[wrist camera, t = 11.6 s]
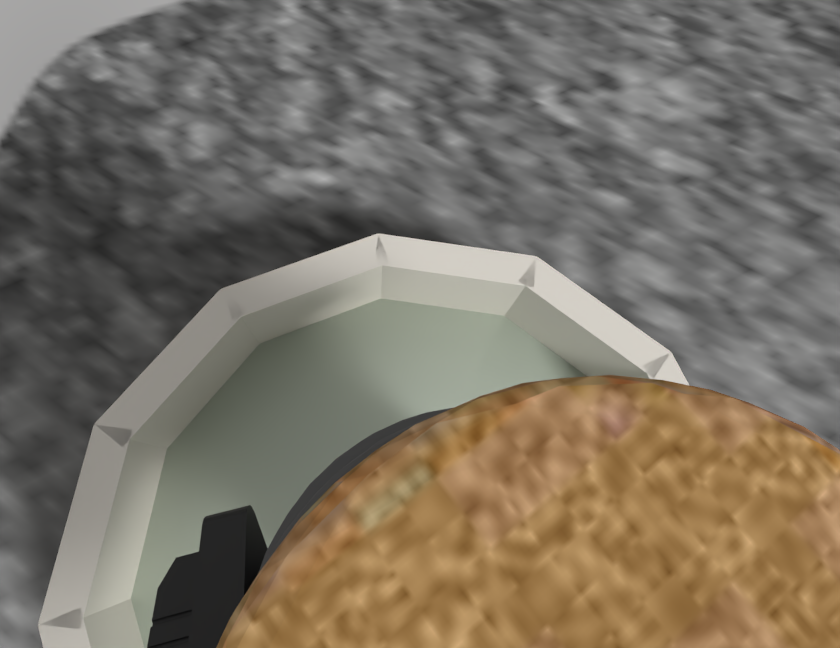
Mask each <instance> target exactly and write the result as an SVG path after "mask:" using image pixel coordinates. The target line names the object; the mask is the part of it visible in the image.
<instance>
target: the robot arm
mask: <svg viewBox="0 0 840 648" xmlns="http://www.w3.org/2000/svg"><path fill="white" fill-rule="evenodd" d="M267 549H268V548H267V545H266V543H265V540H264V537H263V534H262V531H261V529H260V526H259V523H258V520H257V517H256V515H255V512H254V510H253V508H252V506H250V505H248V506H244V507H240V508H236V509H232V510H228V511H224V512H220V513H216V514H212V515H208V516H205V517H204V519H203V523H202V530H201V538H200V547H199V552H195V553H192V554H188V555H184V556H180V557H176V558H175V560H174V562H173V563H172V565H171V567H170V568H169V570H168V572H167V573H166V575H165V577H164V578H163V580H162V582H161V584H160V585H159V587H158V589H157V595H156V600H155V606H154V611H153V617H152V623H153V626H152V627H151V628H150V633H149V639H148V644H147V648H216V647H217V645H218V643H219V641H220V638H221V636H222V634H223V632H224V630H225V628H226V626H227V624H228V621H229V619H230V617H231V616H232V614H233V612H234V611H235V609H236V608H237V606H238V605H239V603H240V601H241V600H242V598H243V597H244V595H245V594H246V592H247V591H248V589H249V587H250V586H251V584H252V583H253V581H254V580H255V578H256V576H257V575H258V573H259V570H260V567H261V564H262V561H263V559H264V556H265V553H266V551H267Z"/></svg>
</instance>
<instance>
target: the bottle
mask: <svg viewBox="0 0 840 648" xmlns="http://www.w3.org/2000/svg"><path fill="white" fill-rule="evenodd" d="M216 648H840V450H839V449H837V448H836V447H834V446H833V445H831V444H830V443H828V442H826V441H825V440H823V439H822V438H820V437H819V436H817V435H816V434H814V433H813V432H811V431H809V430H808V429H806V428H805V427H803V426H801V425H798V424H796V423H794V422H792V421H789V420H787V419H785V418H782V417H780V416H778V415H776V414H773V413H771V412H769V411H766V410H764V409H762V408H760V407H757V406H755V405H753V404H750V403H748V402H745V401H742V400H739V399H736V398H733V397H730V396H727V395H724V394H721V393H718V392H715V391H712V390H709V389H704V388H699V387H694V386H689V385H685V384H680V383H675V382H670V381H665V380H657V379H647V378H636V377H626V376H616V375H602V376H586V377H572V378H559V379H551V380H543V381H535V382H527V383H521V384H518V385H515V386H512V387H508V388H505V389H502V390H498V391H495V392H492V393H489V394H485V395H482V396H479V397H477V398H475V399H473V400H470V401H468V402H466V403H463V404H461V405H459V406H457V407H454V408H448V409H443V410H437V411H432V412H426V413H423V414H420V415H417V416H413V417H410V418H407V419H404V420H401V421H399V422H397V423H395V424H392V425H390V426H388V427H386V428H384V429H382V430H379V431H377V432H375V433H373V434H371V435H370V436H368V437H367V438H365V439H363V440H362V441H360V442H359V443H357V444H356V445H355V446H353V447H352V448H350V449H349V450H348V451H346V452H345V453H343V454H342V455H340V456H339V457H338V458H336V459H335V460H334V461H333V462H332V463H331V464H330V465H329V466H328V467H327V468H326V469H325V470H324V471H323V472H322V473H321V474H320V475H319V476H318V477H317V478H315V479H314V480H313V481H312V482H311V483H310V484H309V486H308V487H307V488H306V490H305V491H304V492H303V494H302V495H301V496H300V498H299V499H298V500H297V502H296V503H295V504H294V506H293V507H292V508H291V510H290V511H289V513H288V514H287V516H286V517H285V519H284V521H283V522H282V524H281V526H280V528H279V529H278V531H277V533H276V534H275V536H274V538H273V540H272V542H271V544H270V545H269V547H268V549H267V551H266V553H265V556H264V559H263V561H262V564H261V567H260V570H259V573H258V575H257V576H256V578H255V580H254V581H253V583H252V584H251V586H250V587H249V589H248V591H247V592H246V594H245V595H244V597H243V598H242V600H241V601H240V603H239V605H238V606H237V608H236V609H235V611H234V612H233V614H232V616H231V617H230V619H229V621H228V624H227V626H226V628H225V630H224V632H223V634H222V636H221V638H220V641H219V643H218V645H217V647H216Z"/></svg>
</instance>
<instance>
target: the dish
mask: <svg viewBox="0 0 840 648" xmlns="http://www.w3.org/2000/svg"><path fill="white" fill-rule="evenodd" d="M602 375H616V376H626V377H636V378H647V379H657V380H665V381H670V382H675V383H680V384H685V385H689V384H688V382H687V380H686V378H685V377H684V375H683V373H682V371H681V369H680V367H679V365H678V364H677V362H676V360H675V358H674V356H673V354H672V353H671V352H670V351H669V350H668V349H666V348H665V347H663V346H662V345H661V344H659V343H658V342H656V341H655V340H653V339H652V338H651V337H649V336H648V335H646V334H645V333H644V332H642V331H641V330H639V329H638V328H637V327H635V326H634V325H632V324H631V323H630V322H628V321H627V320H625V319H624V318H623V317H621V316H620V315H618V314H617V313H616V312H614V311H613V310H611V309H610V308H609V307H607V306H606V305H604V304H603V303H601V302H600V301H599V300H597V299H596V298H594V297H593V296H592V295H590V294H589V293H587V292H586V291H585V290H583V289H582V288H580V287H579V286H578V285H576V284H575V283H573V282H572V281H571V280H569V279H568V278H566V277H565V276H564V275H562V274H561V273H559V272H558V271H557V270H555V269H554V268H552V267H551V266H549V265H548V264H547V263H545V262H544V261H542V260H541V259H540V258H538V257H536V256H531V255H524V254H517V253H510V252H503V251H496V250H489V249H482V248H476V247H469V246H462V245H455V244H448V243H441V242H434V241H427V240H421V239H414V238H407V237H400V236H393V235H386V234H379V233H378V234H375V235H372V236H369V237H366V238H363V239H361V240H358V241H355V242H352V243H349V244H346V245H344V246H341V247H338V248H335V249H332V250H329V251H327V252H324V253H321V254H318V255H315V256H312V257H310V258H307V259H304V260H301V261H298V262H295V263H293V264H290V265H287V266H284V267H281V268H278V269H275V270H273V271H270V272H267V273H264V274H261V275H258V276H256V277H253V278H250V279H247V280H244V281H241V282H239V283H236V284H233V285H230V286H227V287H224V288H222V289H220V290H219V291H218V292H217V293H216V294H215V295H214V296H213V297H212V298H211V300H210V301H209V302H208V303H207V304H206V305H205V306H204V307H203V308H202V309H201V310H200V311H199V312H198V313H197V315H196V316H195V317H194V318H193V319H192V320H191V321H190V322H189V323H188V324H187V325H186V326H185V327H184V328H183V329H182V331H181V332H180V333H179V334H178V335H177V336H176V337H175V338H174V339H173V340H172V341H171V342H170V343H169V344H168V345H167V347H166V348H165V349H164V350H163V351H162V352H161V353H160V354H159V355H158V356H157V357H156V358H155V359H154V360H153V362H152V363H151V364H150V365H149V366H148V367H147V368H146V369H145V370H144V371H143V372H142V373H141V374H140V375H139V376H138V378H137V379H136V380H135V381H134V382H133V383H132V384H131V385H130V386H129V387H128V388H127V389H126V390H125V391H124V393H123V394H122V395H121V396H120V397H119V398H118V399H117V400H116V401H115V402H114V403H113V404H112V405H111V406H110V407H109V409H108V410H107V411H106V412H105V413H104V414H103V415H102V416H101V417H100V418H99V419H98V420H97V421H96V422H95V425H94V426H93V429H92V433H91V436H90V440H89V444H88V447H87V451H86V454H85V458H84V461H83V465H82V469H81V472H80V476H79V479H78V483H77V486H76V490H75V494H74V497H73V501H72V504H71V508H70V512H69V515H68V519H67V522H66V526H65V529H64V533H63V537H62V540H61V544H60V547H59V551H58V554H57V558H56V562H55V565H54V569H53V572H52V576H51V580H50V583H49V587H48V590H47V594H46V597H45V601H44V605H43V608H42V612H41V615H40V619H39V622H38V624H40V625H38V628H39V632H40V636H41V640H42V644H43V648H147V644H148V639H149V633H150V628H151V627H152V626H153V623H152V617H153V611H154V606H155V600H156V595H157V589H158V587H159V585H160V584H161V582H162V580H163V578H164V577H165V575H166V573H167V572H168V570H169V568H170V567H171V565H172V563H173V562H174V560H175V558H176V557H180V556H184V555H188V554H192V553H195V552H199V547H200V538H201V530H202V523H203V519H204V517H205V516H208V515H212V514H216V513H220V512H224V511H228V510H232V509H236V508H240V507H244V506H248V505H250V506H252V508H253V510H254V512H255V515H256V517H257V520H258V523H259V526H260V529H261V531H262V534H263V537H264V540H265V543H266V545H267V548H268V547H269V545H270V544H271V542H272V540H273V538H274V536H275V534H276V533H277V531H278V529H279V528H280V526H281V524H282V522H283V521H284V519H285V517H286V516H287V514H288V513H289V511H290V510H291V508H292V507H293V506H294V504H295V503H296V502H297V500H298V499H299V498H300V496H301V495H302V494H303V492H304V491H305V490H306V488H307V487H308V486H309V484H310V483H311V482H312V481H313V480H314V479H315V478H317V477H318V476H319V475H320V474H321V473H322V472H323V471H324V470H325V469H326V468H327V467H328V466H329V465H330V464H331V463H332V462H333V461H334V460H335V459H336V458H338V457H339V456H340V455H342V454H343V453H345V452H346V451H348V450H349V449H350V448H352V447H353V446H355V445H356V444H357V443H359V442H360V441H362V440H363V439H365V438H367V437H368V436H370V435H371V434H373V433H375V432H377V431H379V430H382V429H384V428H386V427H388V426H390V425H392V424H395V423H397V422H399V421H401V420H404V419H407V418H410V417H413V416H417V415H420V414H423V413H426V412H432V411H437V410H443V409H448V408H454V407H457V406H459V405H461V404H463V403H466V402H468V401H470V400H473V399H475V398H477V397H479V396H482V395H485V394H489V393H492V392H495V391H498V390H502V389H505V388H508V387H512V386H515V385H518V384H521V383H527V382H535V381H543V380H551V379H559V378H572V377H586V376H602Z"/></svg>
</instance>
